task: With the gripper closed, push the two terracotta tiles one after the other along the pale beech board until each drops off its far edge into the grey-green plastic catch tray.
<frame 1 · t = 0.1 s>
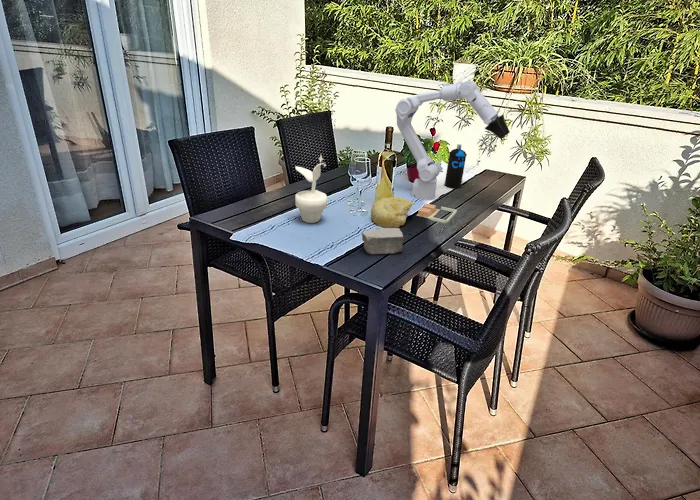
hand: (505, 135, 171), 32 cm above the table, tool tilted 50°, fingers open, 7 cm apart
potted plant: (309, 220, 170), on the table
board: (428, 215, 180), on the table
tile b: (424, 214, 177), point 1 cm above the table, touching board
decorative stone: (383, 251, 150), on the table
aerosol can: (452, 186, 218), on the table
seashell: (391, 224, 171), on the table
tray: (443, 219, 178), on the table
tile a: (429, 210, 181), point 1 cm above the table, touching board
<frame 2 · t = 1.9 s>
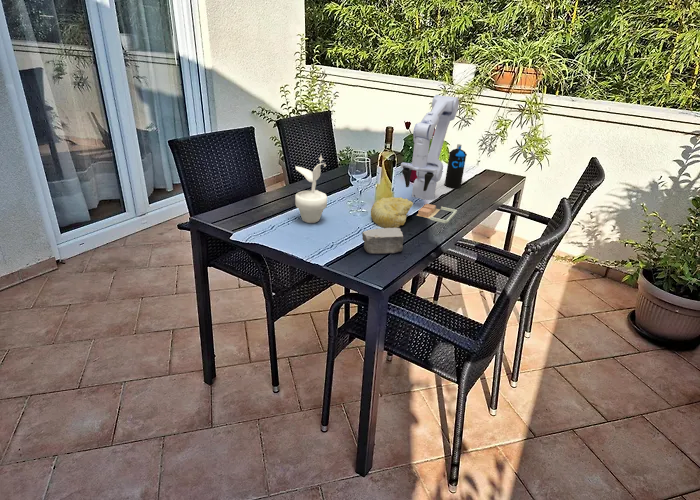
hand: (416, 188, 180), 9 cm above the table, tool pointing down, fingers open, 7 cm apart
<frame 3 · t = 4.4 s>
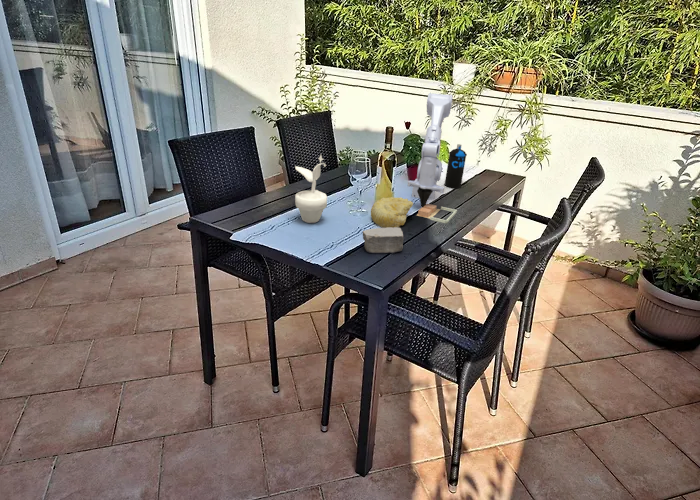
hand: (423, 206, 182), 3 cm above the table, tool pointing down, fingers closed
tile a: (429, 210, 181), point 2 cm above the table, touching board, gripper
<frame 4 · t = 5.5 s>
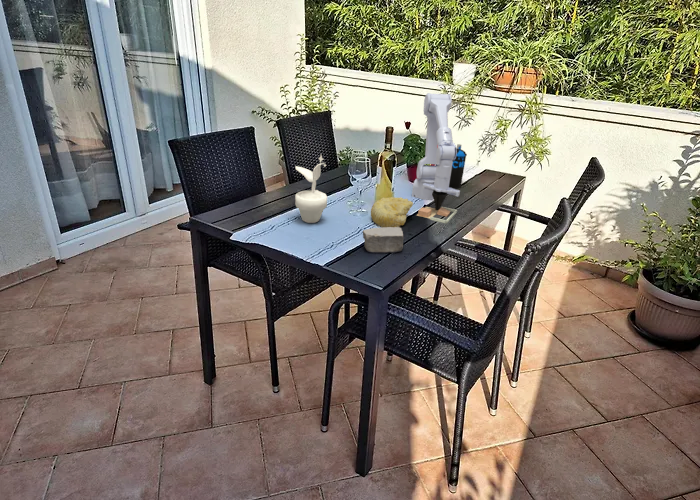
hand: (437, 209, 179), 3 cm above the table, tool pointing down, fingers closed
tile a: (442, 215, 179), point 1 cm above the table, tilted 15°, touching gripper
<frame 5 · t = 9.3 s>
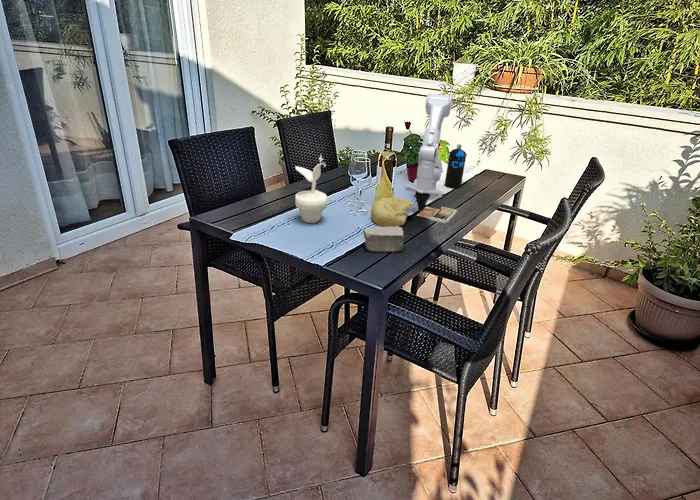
hand: (420, 210, 177), 3 cm above the table, tool pointing down, fingers closed
tile b: (427, 215, 176), point 2 cm above the table, touching gripper
tile a: (444, 216, 179), resting on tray
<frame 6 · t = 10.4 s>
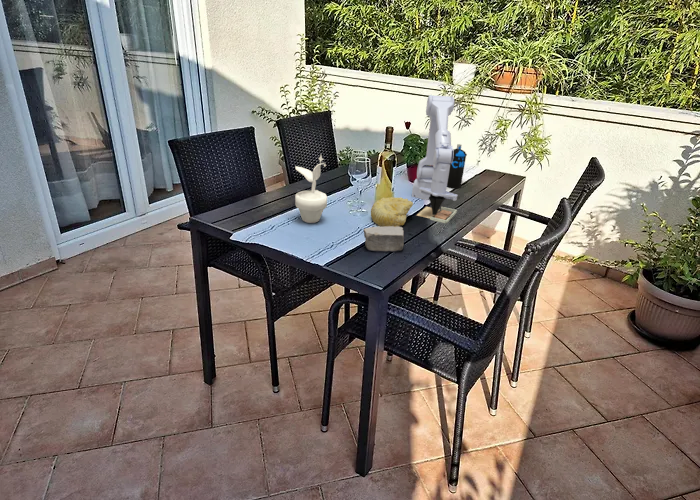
hand: (434, 214, 175), 3 cm above the table, tool pointing down, fingers closed
tile b: (440, 220, 175), point 1 cm above the table, tilted 10°, touching gripper
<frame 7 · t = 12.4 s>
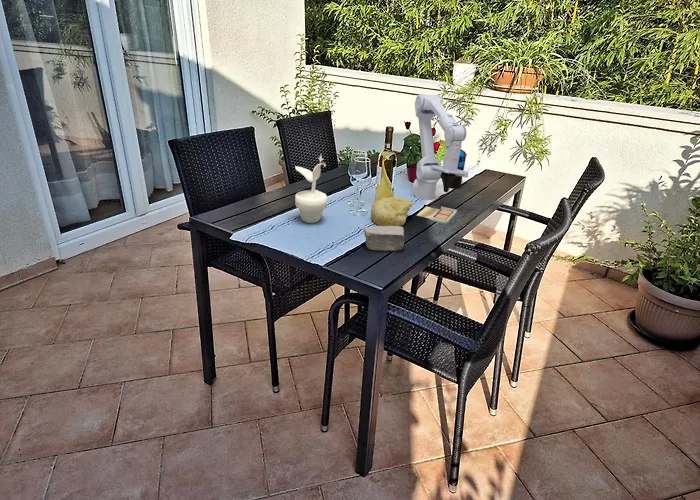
hand: (446, 191, 180), 9 cm above the table, tool pointing down, fingers closed
tile b: (440, 221, 175), resting on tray
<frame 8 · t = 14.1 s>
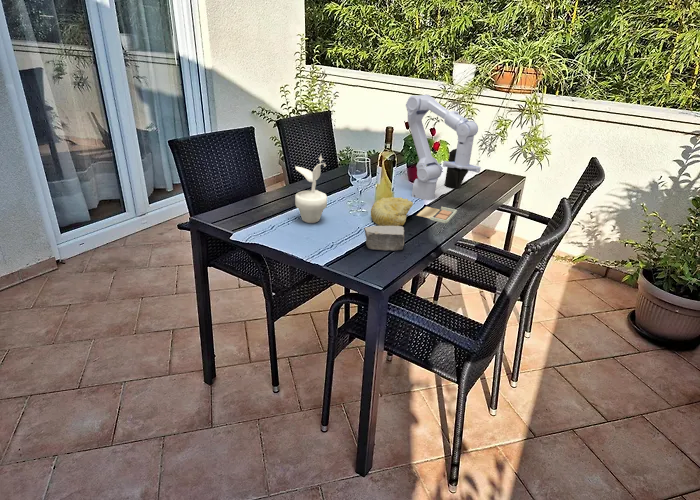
hand: (458, 186, 182), 10 cm above the table, tool pointing down, fingers closed
at the end: tile a inside the target area (1.9 cm from its centre), resting on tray; tile b inside the target area (3.5 cm from its centre), resting on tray; tile b moved 7.0 cm from its start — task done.
